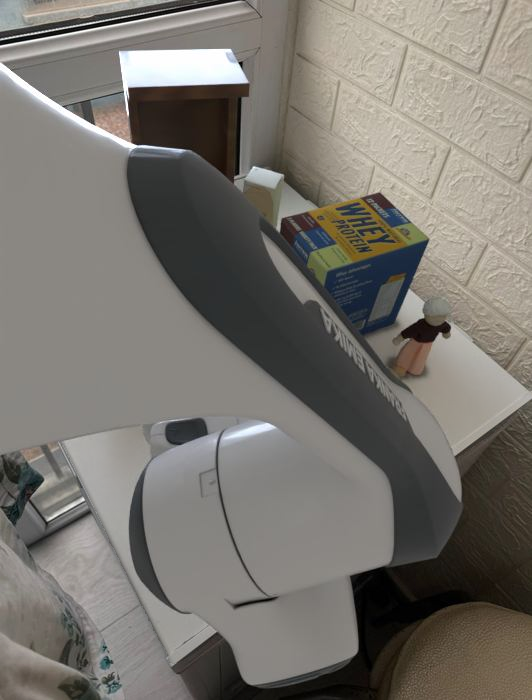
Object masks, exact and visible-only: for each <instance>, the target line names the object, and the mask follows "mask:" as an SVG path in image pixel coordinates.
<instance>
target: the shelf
mask: <svg viewBox="0 0 532 700" xmlns="http://www.w3.org/2000/svg"><path fill="white" fill-rule="evenodd" d="M118 52H119V53H118V54H119V62H120V69H121V76H122V84H123V92H124V100H125V109H126V114H127V115H126V117H127V123H128V131H129V139H130V143H132V144H134V145H137V146H140V145H146V146H155V147H164V148H173V149H183V150H190V151H192V152H194V153H196V154H198V155H199V156H200V157H202V158H203V159H204V160H206V161H207V162H208V163H209V164H211V165H212V166H213V167H215V168H216V169H217V170H218V171H220V172H221V173H222V174H223V175H224V176H225V177H226V178H227V179H229V180H230V181H231V182H232V183H233V184H234V185H235V169H236V148H237V147H236V145H237V118H238V98H249V97H250V87H251V86H250V85H251V83H250V82H249V79H248V78H247V76H246V74H245V73H244V71H243V69H242V67H241V65H240V64H239V62H238V59H237V58H236V56H235V54H234V52H233V50H232V49H231V48H210V49H209V48H208V49H205V48H203V49H156V50H154V49H153V50H152V49H151V50H119V51H118Z"/></svg>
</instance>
